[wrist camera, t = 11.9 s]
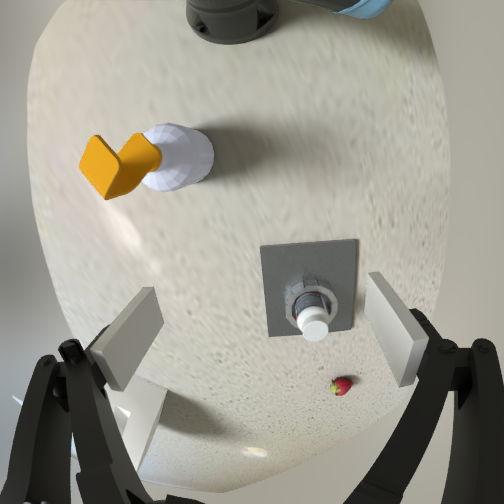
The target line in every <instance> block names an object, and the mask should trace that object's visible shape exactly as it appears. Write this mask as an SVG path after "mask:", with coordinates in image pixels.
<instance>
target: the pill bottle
mask: <svg viewBox="0 0 504 504" xmlns="http://www.w3.org/2000/svg"><path fill="white" fill-rule="evenodd" d="M295 311H296V319H297V325H298V327H299V329H300V330H301V331H302V332H303V336H304V337H305V338H306V339H307V340H309V341H312V342H316V341H320V340H322V339H324V338H325V337H326V336H327V334H328V331H329V329H328V324H329V314H328V312H327V308H326V305H325V302H324V299H323V297H322V295H321V294H320V293H319V292H317V291H310V292H305V293H303V294H302V295H300V296H298V297H297V298H296V300H295Z"/></svg>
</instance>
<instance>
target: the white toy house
mask: <svg viewBox="0 0 504 504" xmlns="http://www.w3.org/2000/svg"><path fill="white" fill-rule="evenodd" d="M104 388H105V390H106V391H107V395H108V398H109V401H110V405H111V408H112V411H113V414H114V417H115V420H116V423H117V426H118V429H119V431H120V434H121V437H122V439H123V442H124V444H125V447H126V449H127V452H128V454H129V457H130V459H131V461H132V463H133V466H134V468H135V470H136V472H138V470H139V468H140V466H141V464H142V461H143V459H144V457H145V455H146V453H147V451H148V448H149V446H150V443H151V440H152V438H153V435H154V433H155V430H156V428H157V425H158V423H159V419H160V416H161V412H162V408H163V404H164V401H165V397H166V393H167V390H168V389H165V388H163V387H161V386H158V385H156V384H154V383H151V382H149V381H147V380H145V379H143V378H140V377H138V376H136V375H134V374H133V376H132V378H131V380H130V381H129V383H128V385H127V387H126V388H125V390H124V392H118V391H113V390H111V388H110V387H109V385H108V383H106V384H105V386H104Z"/></svg>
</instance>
